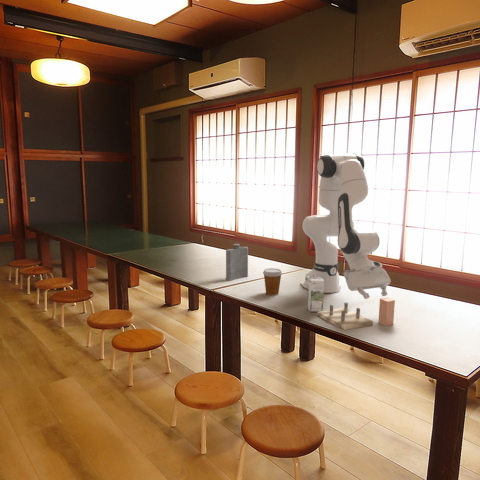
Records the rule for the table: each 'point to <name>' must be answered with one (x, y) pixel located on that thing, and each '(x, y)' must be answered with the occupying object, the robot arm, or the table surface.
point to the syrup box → (315, 294)
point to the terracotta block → (386, 311)
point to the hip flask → (236, 262)
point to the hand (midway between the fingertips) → (376, 296)
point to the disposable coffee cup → (272, 280)
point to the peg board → (345, 317)
